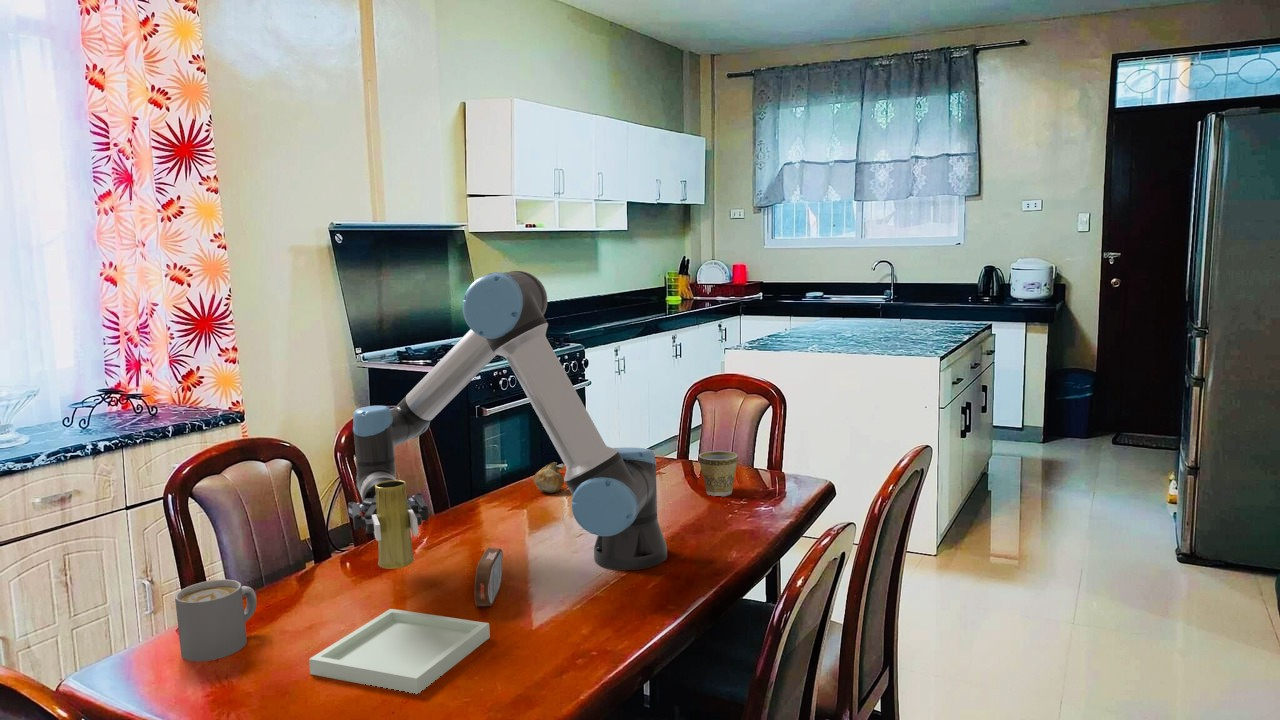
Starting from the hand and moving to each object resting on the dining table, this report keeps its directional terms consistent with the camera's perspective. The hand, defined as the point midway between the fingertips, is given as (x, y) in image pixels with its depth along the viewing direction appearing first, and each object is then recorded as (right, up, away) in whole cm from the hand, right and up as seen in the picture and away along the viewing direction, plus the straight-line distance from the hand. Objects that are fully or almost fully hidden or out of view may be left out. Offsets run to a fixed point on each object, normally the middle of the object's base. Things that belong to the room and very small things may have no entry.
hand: (397, 529), depth 151 cm
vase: (-2, -7, +6) cm, 9 cm away
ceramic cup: (+61, -6, +81) cm, 102 cm away
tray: (+3, -19, -7) cm, 20 cm away
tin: (+13, -16, +16) cm, 26 cm away
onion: (+17, -7, +86) cm, 88 cm away
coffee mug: (-29, -19, 0) cm, 35 cm away
